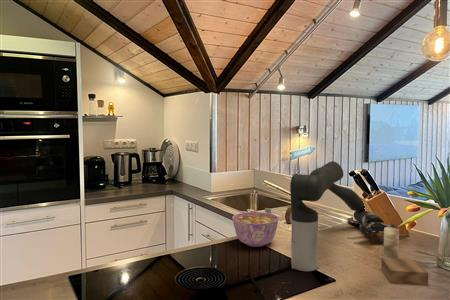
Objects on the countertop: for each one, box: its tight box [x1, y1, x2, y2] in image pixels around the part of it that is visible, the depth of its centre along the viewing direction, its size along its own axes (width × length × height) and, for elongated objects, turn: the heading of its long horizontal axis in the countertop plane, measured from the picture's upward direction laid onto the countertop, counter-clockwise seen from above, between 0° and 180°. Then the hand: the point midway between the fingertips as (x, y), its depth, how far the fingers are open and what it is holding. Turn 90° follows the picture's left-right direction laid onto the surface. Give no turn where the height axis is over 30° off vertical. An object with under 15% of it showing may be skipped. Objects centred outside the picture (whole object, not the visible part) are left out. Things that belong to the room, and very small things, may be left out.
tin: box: [284, 206, 292, 224], centre depth 184 cm, size 15×3×8 cm, turn 141°
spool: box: [382, 227, 400, 259], centre depth 129 cm, size 5×5×12 cm
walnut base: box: [381, 257, 429, 286], centre depth 116 cm, size 11×11×4 cm
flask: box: [264, 207, 272, 214], centre depth 172 cm, size 7×7×10 cm
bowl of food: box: [231, 211, 280, 248], centre depth 150 cm, size 20×20×12 cm
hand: (382, 233), depth 140 cm, fingers open, 8 cm apart
